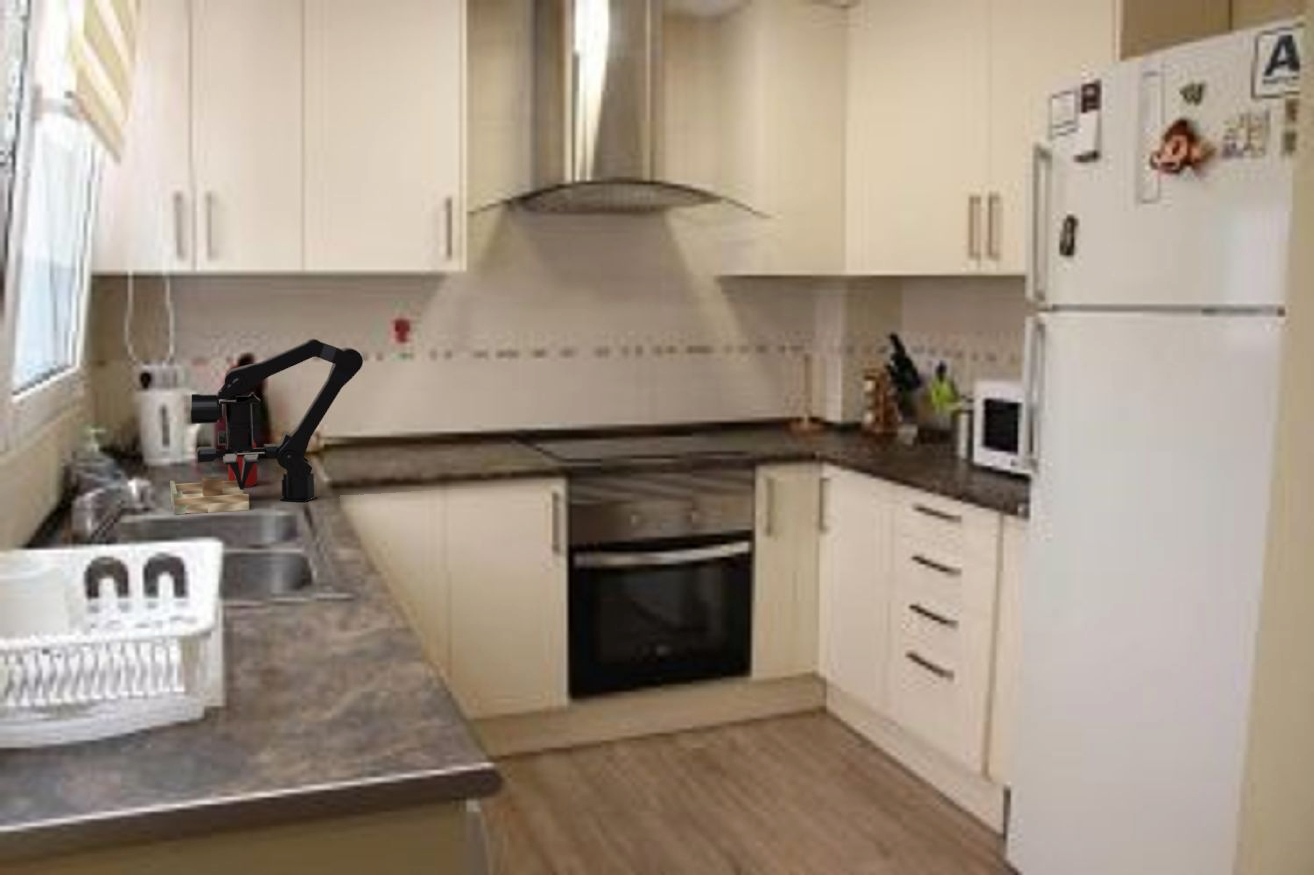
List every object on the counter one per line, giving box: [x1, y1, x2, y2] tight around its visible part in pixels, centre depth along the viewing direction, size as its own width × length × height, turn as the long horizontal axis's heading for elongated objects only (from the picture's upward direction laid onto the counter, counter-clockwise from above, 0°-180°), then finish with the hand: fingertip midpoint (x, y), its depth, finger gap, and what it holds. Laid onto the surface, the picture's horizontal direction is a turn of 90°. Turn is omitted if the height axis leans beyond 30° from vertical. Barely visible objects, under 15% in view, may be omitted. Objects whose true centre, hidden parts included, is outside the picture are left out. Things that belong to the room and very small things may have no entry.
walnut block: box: [201, 476, 223, 497], centre depth 258 cm, size 4×4×4 cm
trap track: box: [169, 480, 250, 515], centre depth 258 cm, size 16×19×4 cm
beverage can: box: [227, 439, 258, 488], centre depth 281 cm, size 7×7×12 cm
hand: (241, 489), depth 261 cm, fingers closed
